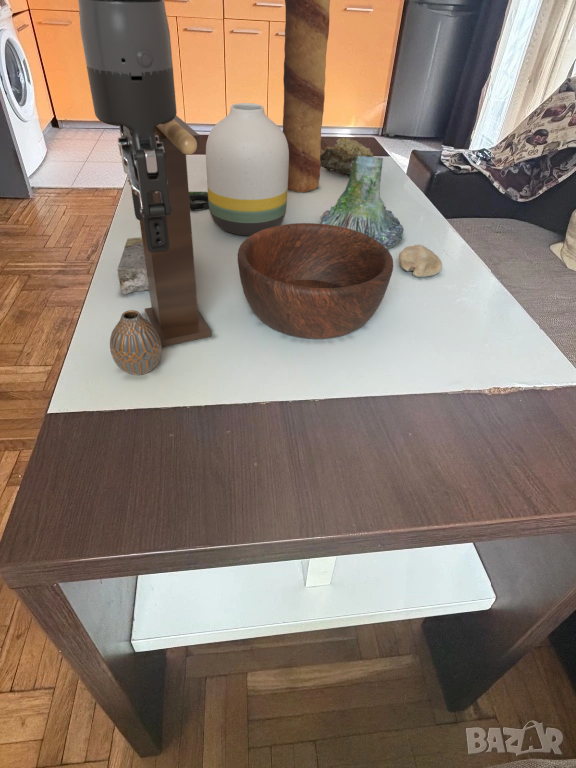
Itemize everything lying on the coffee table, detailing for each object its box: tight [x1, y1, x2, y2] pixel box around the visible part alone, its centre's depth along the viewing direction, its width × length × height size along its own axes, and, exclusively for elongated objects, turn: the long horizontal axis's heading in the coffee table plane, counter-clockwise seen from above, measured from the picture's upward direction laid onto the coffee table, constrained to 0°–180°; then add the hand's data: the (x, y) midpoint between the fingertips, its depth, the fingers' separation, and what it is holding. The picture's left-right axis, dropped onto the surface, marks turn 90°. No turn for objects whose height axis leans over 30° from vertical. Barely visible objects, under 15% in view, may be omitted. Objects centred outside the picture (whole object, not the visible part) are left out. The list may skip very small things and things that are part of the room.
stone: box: [398, 244, 443, 278], centre depth 102 cm, size 7×6×8 cm
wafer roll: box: [282, 0, 331, 193], centre depth 124 cm, size 10×11×45 cm
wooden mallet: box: [156, 119, 198, 156], centre depth 61 cm, size 20×4×2 cm, turn 25°
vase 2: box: [205, 102, 289, 236], centre depth 109 cm, size 17×17×24 cm
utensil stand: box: [139, 114, 212, 348], centre depth 74 cm, size 12×8×30 cm, turn 25°
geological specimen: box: [117, 236, 149, 296], centre depth 95 cm, size 11×6×15 cm
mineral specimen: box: [320, 137, 375, 176], centre depth 145 cm, size 14×13×10 cm
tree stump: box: [319, 156, 404, 250], centre depth 114 cm, size 18×20×18 cm
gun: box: [189, 191, 209, 211], centre depth 124 cm, size 16×2×10 cm
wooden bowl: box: [237, 222, 394, 340], centre depth 87 cm, size 25×25×10 cm
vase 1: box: [109, 309, 163, 376], centre depth 73 cm, size 7×7×9 cm
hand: (151, 233), depth 57 cm, fingers open, 8 cm apart
